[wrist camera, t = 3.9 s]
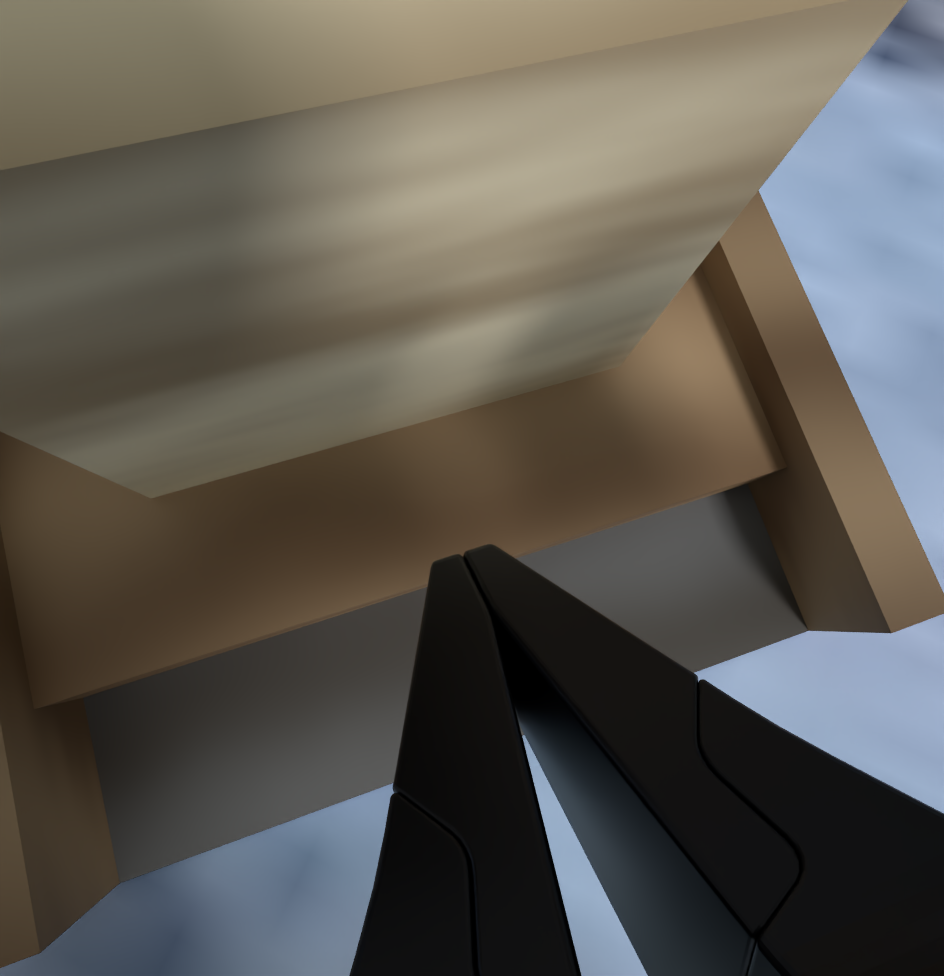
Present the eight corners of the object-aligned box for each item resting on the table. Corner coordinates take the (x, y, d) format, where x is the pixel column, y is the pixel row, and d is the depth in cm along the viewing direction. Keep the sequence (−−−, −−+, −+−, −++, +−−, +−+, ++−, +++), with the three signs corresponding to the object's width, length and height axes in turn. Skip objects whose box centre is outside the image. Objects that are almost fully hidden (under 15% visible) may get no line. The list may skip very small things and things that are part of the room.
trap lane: (853, 612, 16) (994, 609, 12) (52, 905, 13) (-106, 1028, 9) (436, -357, 22) (440, -563, 18) (-162, -300, 19) (-308, -531, 16)
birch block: (619, 366, 15) (919, -16, 6) (151, 498, 13) (-405, 251, 4) (477, 2, 17) (541, -696, 8) (54, 79, 15) (-463, -684, 6)
